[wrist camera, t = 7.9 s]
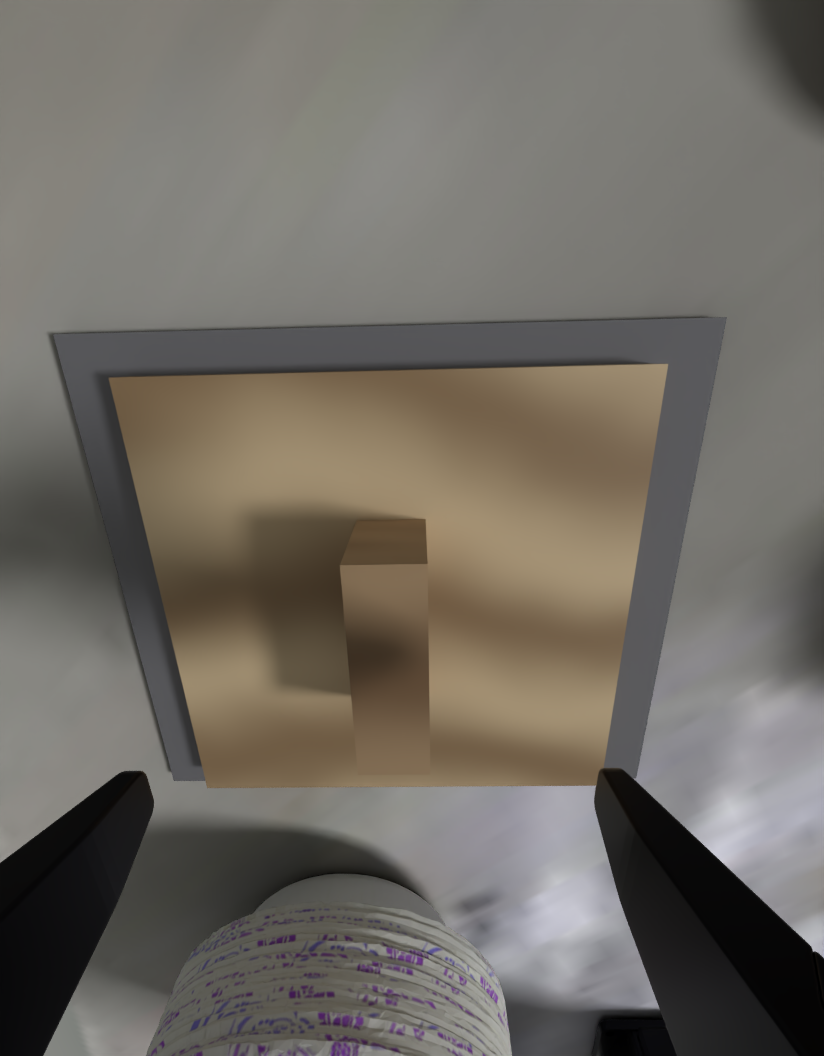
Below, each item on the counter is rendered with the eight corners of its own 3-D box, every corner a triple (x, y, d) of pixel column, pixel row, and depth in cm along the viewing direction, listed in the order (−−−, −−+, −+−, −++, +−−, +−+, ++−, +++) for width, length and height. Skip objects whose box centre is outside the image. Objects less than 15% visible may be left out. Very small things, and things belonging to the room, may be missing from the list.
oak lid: (592, 765, 19) (638, 874, 15) (217, 767, 20) (164, 875, 16) (651, 363, 14) (749, 366, 10) (128, 376, 14) (10, 384, 10)
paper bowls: (319, 777, 21) (262, 1016, 13) (555, 922, 24) (618, 1179, 16) (152, 937, 25) (36, 1187, 17) (373, 1042, 28) (356, 1290, 21)
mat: (631, 770, 20) (636, 778, 20) (178, 772, 20) (173, 780, 20) (718, 318, 14) (726, 317, 13) (62, 334, 14) (52, 334, 14)
